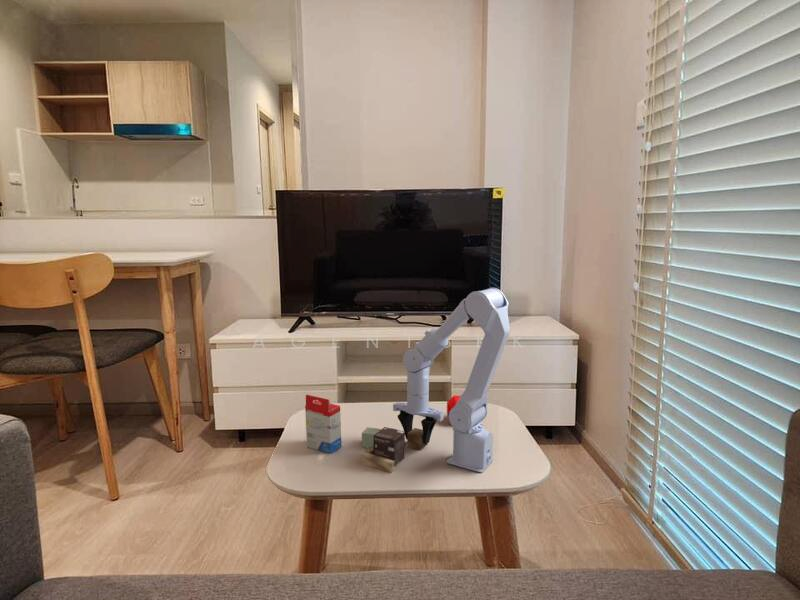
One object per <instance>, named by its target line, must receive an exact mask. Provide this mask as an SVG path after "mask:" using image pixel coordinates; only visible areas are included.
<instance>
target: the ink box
mask: <svg viewBox="0 0 800 600" xmlns="http://www.w3.org/2000/svg"><path fill="white" fill-rule="evenodd" d="M304 409H305V410H304V411H305V429H306V430H305V432H306V433H305V434H306V435H305V437H306V439H305V440H306V447H307V448H310V449H313V450H316V451H321V452H324V453H327V454H332V453H334V452H335V451H337V450H338V449H340V448H341V447H342V424H341V423H342V422H341V419H342V418H341V405H339V404H334V403H330V399H328V398H323V397H318V396H314V395H310V394H305V405H304Z"/></svg>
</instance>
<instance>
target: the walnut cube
mask: <svg viewBox="0 0 800 600" xmlns="http://www.w3.org/2000/svg"><path fill="white" fill-rule="evenodd" d="M406 441H407V442H406V443H407V445H406V447H408V448H411V449H413V450H414V449H415V450H417V451H422V450H423V449H424V448H425V447H426V446H428V444H429V443H427V444H426V445H425V444H424V443H423V428H422V429H420V428H418V427H414V428H412V430H411V431H410V432H408V433H407V440H406Z"/></svg>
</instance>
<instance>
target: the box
mask: <svg viewBox="0 0 800 600" xmlns="http://www.w3.org/2000/svg"><path fill="white" fill-rule="evenodd" d="M380 429H381V430H380V431H379V432H377V433H376V434H375V435H373V436H374V440H373V455H376V456H379V457H383V458H386V459H389V460H393V461H394V468H396V467H397V465H398V464H400V462H402V461H403V460H404V459H405V452H406V450H405V446H406V445H405V441H406V437H405V432H404V430H399V429H397V428H390V427H386V426H384V427H383V428H380Z"/></svg>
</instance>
